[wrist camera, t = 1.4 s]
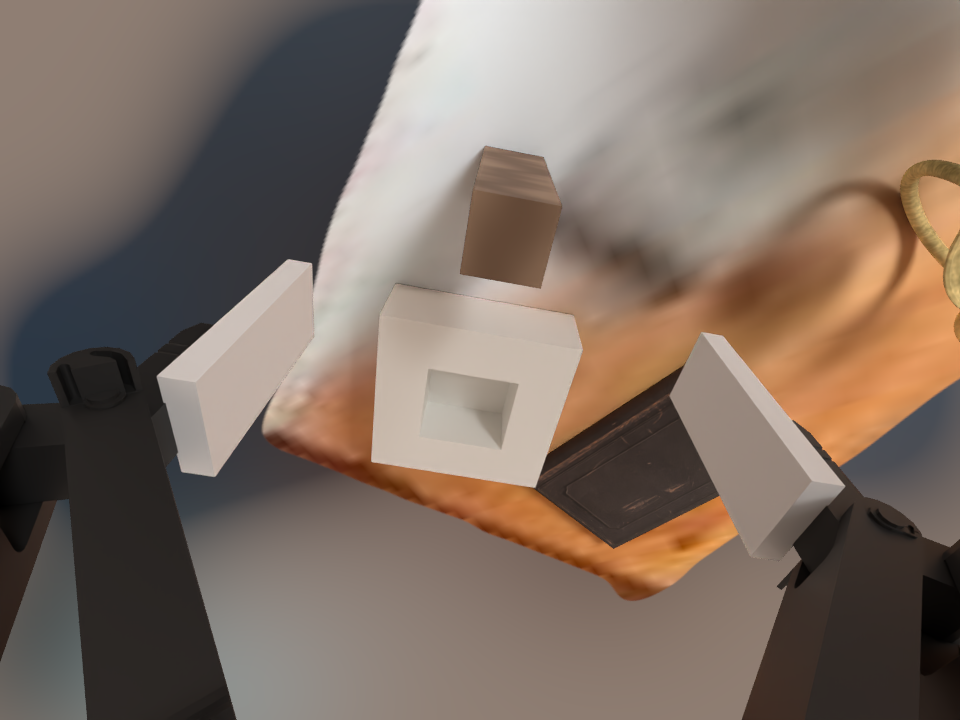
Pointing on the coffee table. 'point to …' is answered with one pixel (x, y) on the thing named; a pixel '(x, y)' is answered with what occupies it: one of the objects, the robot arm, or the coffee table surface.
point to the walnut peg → (511, 219)
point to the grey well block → (470, 384)
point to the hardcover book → (629, 469)
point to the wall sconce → (954, 260)
